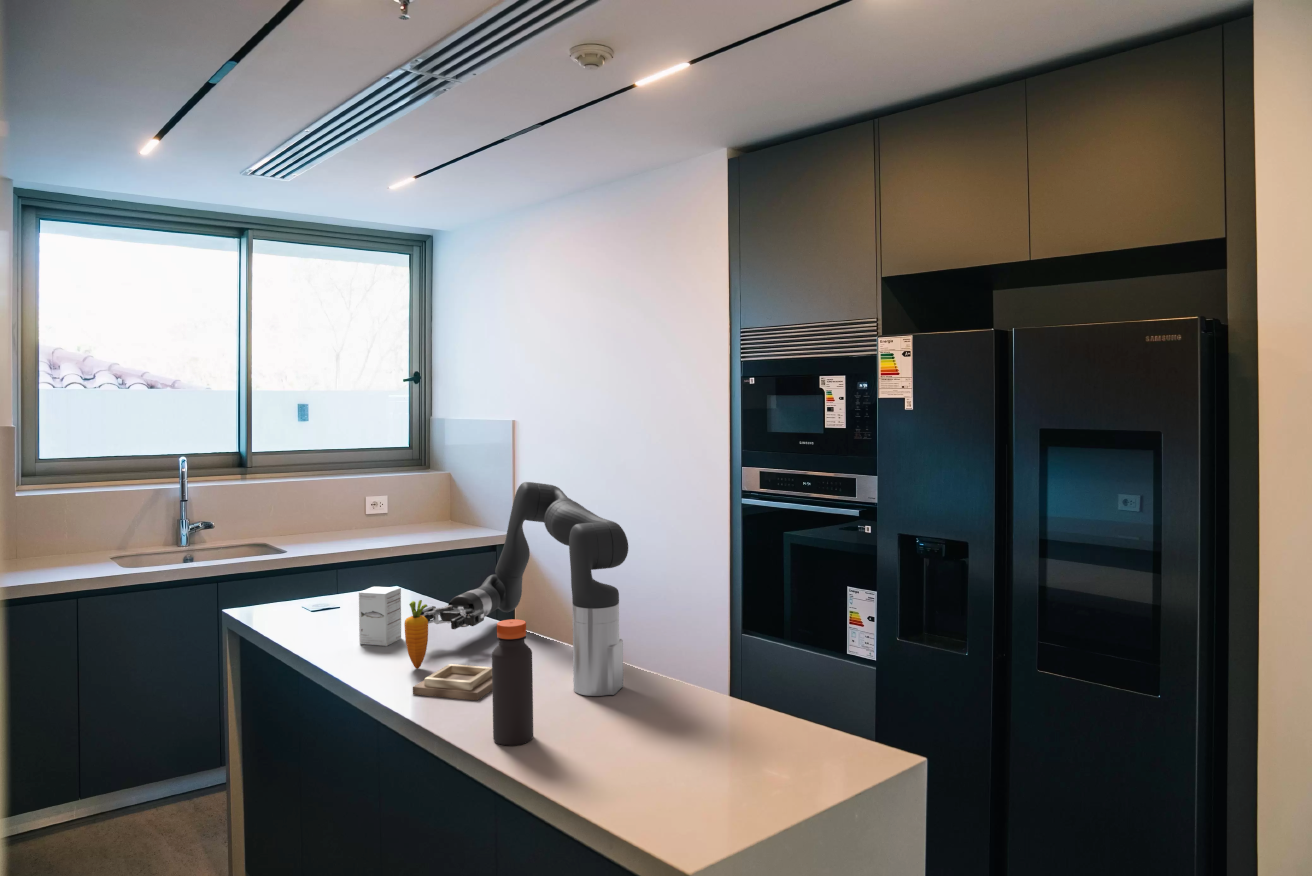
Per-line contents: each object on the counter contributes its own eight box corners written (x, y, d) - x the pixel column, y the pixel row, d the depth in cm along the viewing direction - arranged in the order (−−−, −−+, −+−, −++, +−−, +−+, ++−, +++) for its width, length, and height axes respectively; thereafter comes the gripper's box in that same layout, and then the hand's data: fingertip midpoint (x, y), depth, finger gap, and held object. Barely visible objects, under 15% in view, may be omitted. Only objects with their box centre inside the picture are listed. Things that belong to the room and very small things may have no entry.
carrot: (420, 663, 196) (418, 596, 196) (434, 668, 193) (432, 599, 192) (400, 669, 192) (399, 600, 192) (414, 673, 189) (413, 603, 189)
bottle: (528, 729, 157) (526, 616, 156) (537, 742, 151) (535, 625, 150) (489, 734, 155) (487, 620, 154) (497, 749, 148) (495, 629, 148)
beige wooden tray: (504, 681, 184) (504, 666, 184) (477, 700, 172) (477, 684, 172) (443, 675, 188) (443, 661, 188) (412, 694, 176) (412, 679, 176)
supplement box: (358, 645, 212) (357, 591, 211) (375, 636, 219) (374, 585, 219) (386, 646, 210) (385, 593, 210) (402, 638, 217) (401, 586, 217)
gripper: (443, 590, 217) (406, 605, 202) (496, 593, 213) (463, 608, 198) (443, 621, 218) (407, 638, 202) (497, 624, 214) (464, 642, 198)
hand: (435, 623), depth 200 cm, fingers open, 8 cm apart
